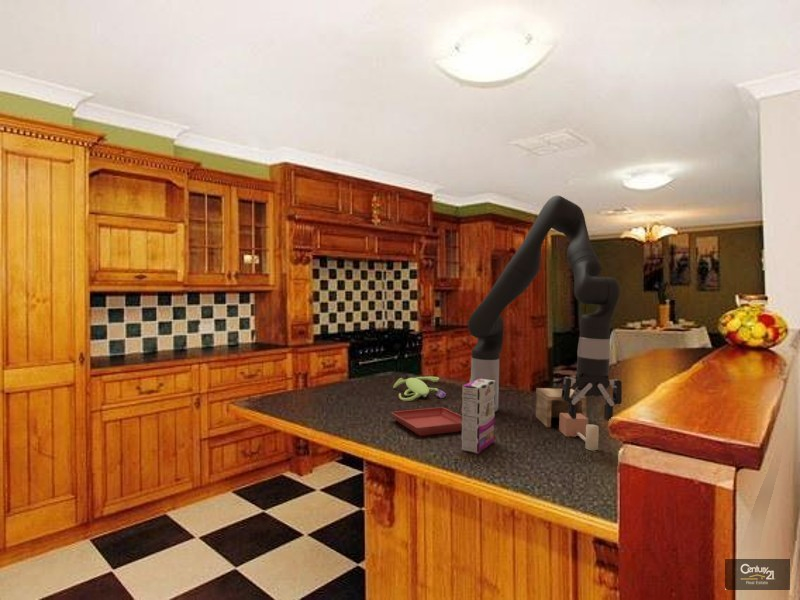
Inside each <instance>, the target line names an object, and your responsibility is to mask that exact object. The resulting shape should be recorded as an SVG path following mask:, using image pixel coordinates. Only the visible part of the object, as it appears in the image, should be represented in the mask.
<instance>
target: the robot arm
mask: <svg viewBox="0 0 800 600" xmlns="http://www.w3.org/2000/svg"><path fill="white" fill-rule="evenodd" d="M551 229H552V230H555V231H557V232H559V233H562V234H563V235H564V236H565V238H566V239H567V240H568V241H569V242H568V243H569V245H568V247H567V252H566V257H567V261H568V263H569V265H570V266H569V267H570V269H571V271H572V272H573V280H574V284H573V285H574V286H573V287H574V289H573V291H574V292H573V293H574V297H575V299H576V300H577V301H578V302H579V303H581V304H583V305H596V306H597V305H598V307H597V309H596V310H595V311H594V312H590V313H586V314H582V315H581V317H580V324H579V337H578V343H577V351H576V353H577V358H576V376H575V377H568V376H564V377H563V378H562V388H561V389H562V396H561V398H562V399H563V400H564V401H566V402H568V403H569V409H568V414H569V415H570V416H571V418H572V419H576V410H577V405H576V403H577V402H578V401H579V399H581V398H582V397H583V396H585V397H586V396H587V397H591V396H594V397H601V398H602V400H603V401H604V402H605V404H604V409H603V419H604V420H605V421H608V422H609V419H610V420H611V417H612V418H613V416H614V414H613V413H614V406H616V405H621V404H622V400H623V399H622V395H623V394H622V393H623V391H622V388H623V387H622V381H621V380H619V379H617V378H613V379H610V378H609V374H610V361H611V359H610V356H611V354H610V353H611V344H610V337H611V336H610V335H611V322H612V319H613V317H614V312H615V309H616V307H617V305H618V302H619V298H620V294H621V288H620V284H619V283H618V281H617V280H616V278H614V277H610V276H600V274H601V273H602V264H601V262H600V260H599V257H598V255H597V254H596V251H595V250H594V248H593V245H592V244H591V243H592V242H591V240H590V237H589V236H590V235H589V232H588V227H587V223H586V218H585V214H584V212H583V209H582V208H581V207H580V206H579V205H578V204H576V203H574V202H573V201H570V200H569V199H567V198H565V197H564V196H561V195H554V196H552V197H550V198H549V199H548V200H547V201H546V203H545V204H544V205H543V207H542V208H541V210H540V211H539V214H538V215H537V217H536V218H535V220H534V222H533V224H532V226H531V227H530V229H529V231H528V233H527V235H526V236H525V238H524V240H523V241H522V243H521V244H520V246H519V247H518V249H517V251H516V252H515V253H514V255H513V256H512V258H511V259H510V260H509V261H508V262H507V264H506V266H505V268H504V269H503V271H502V273H501V274H500V276H499V277H498V278H497V280H496V282H494V284H493V286H492V288H491V289H490V291H489V292H488V294H487V295H486V296H485V298H484V299H483V300H482V301H481V302H480V303H479V305H478V306H477V307H476V309H474V311H473V312H472V313H471V315H470V317H469V319H468V322H467V329H468V332H469V334H470V335H471V336H473V337H474V338H477V343H476V345H475V346H474V347H472V350H471V357H470V358H471V361H470V362H471V365H470V378H469V383H470V382H472V381H475V380H477V379H488V380H494V381H495V412H497V411H498V410H499V388H500V387H499V386H500V385H499V384H500V383H499V381H500V356H501V355H500V354H501V352H502V349H503V341H504V340H503V339H504V320H503V317H502V315H501V314H502V312H504V310H505V309H506V308H507V307H508V306H509V305H510V304H511V303H512V302H513V301H515V300H516V299H517V298H518V297H520V296H521V295H522V294H523V293H524V292H525V291H526V290H527V289H528V288H529V286H530V284H532V283H533V280H534V279H535V278H536V277H537V275H538V274H539V271H540V268H541V260H542V257H541V256H542V247H543V243H544V240H545V239H546V237H547V235H548V233H549V232H550V230H551ZM574 384H575V385H576V388H575V389H574V390H575V391H574V392H573V394H572V395H571V396H570V389H572V387H573V385H574ZM609 386H610V387H611V388H612V398H611V396H610V394H609V393H608V391H607V389H608V387H609Z"/></svg>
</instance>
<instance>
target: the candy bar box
mask: <svg viewBox="0 0 800 600" xmlns="http://www.w3.org/2000/svg"><path fill="white" fill-rule="evenodd" d="M495 412H496V411H495V381H494V380H488V379H477V380H475V381H472V382H470V381H469V382H468V383H465V384H463V385H461V416H462V430H461V431H460V432H461V433H460V434H461V435H460V436H461V438H460V439H461V443H460V445H461V447H460V449H461V451H462V452H463V451H464V452H466V453H467V452H468V453H471V454H477V455H478V454H480V453H482V452H483V451H484V450H485V449H488V447H490V446H491V445H492V444H494V443H495V426H496V425H495V417H496V414H495Z"/></svg>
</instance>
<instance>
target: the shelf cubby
mask: <svg viewBox="0 0 800 600" xmlns="http://www.w3.org/2000/svg"><path fill="white" fill-rule="evenodd" d="M535 389H536V390H535V415H534V416H535V417H536V418H537V419H538V420H539V421H540V422H541V423H542V424H543V425H544V426H545V427H546V428H551V427H552V418H554V419H556V418H558V419H559V415H560V413H568V409H569V403H568V402H566V401H564V400H563V399H562V398H561V396H562V388H548V387H546V388H545V387H544V388H543V387H540V388H539V387H536V388H535ZM574 391H575V389H573V388H571V389H570V396H571V395H572V394H573V392H574ZM587 400H588V399H587V397H586V395H584V396H583V397H582V398H581V399H579V401H578V402H577V403H576V405H577V410H576V413H581V414H582V415H583V416H585V417H586V418H587Z"/></svg>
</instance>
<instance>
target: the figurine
mask: <svg viewBox="0 0 800 600" xmlns="http://www.w3.org/2000/svg"><path fill="white" fill-rule="evenodd" d="M423 380H428V381H431V382H433V383H436V382H439V380H440V377H438V376H417V377H408V378H406V379H404V378H402V377H400V378H398V379H397V381H396V382H395V383H394V384H393V387H392V388H393V389H396V388H397V387H399V386H400V385H402V384H405V385H406V387H407V388H408V389H406V390H405V391H404V392H403V395H404V396H406V397H402V393H401V392H399V393H398V398H399V400H400V401H403V402H412V401H414V400H415V399H419V398H420V397H423V398H426V397H427V395H428V394H429V393H430V391H433V392H437V393H436V394H435V396H437V397H439V398H440V399H444V398H445V397H446V395H447V393H446V392H444V390H442V389H440V388H437V387H428V385H427V384H426V383H425V382H424V381H423ZM410 392H411V393H410ZM408 396H410V397H408Z"/></svg>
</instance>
